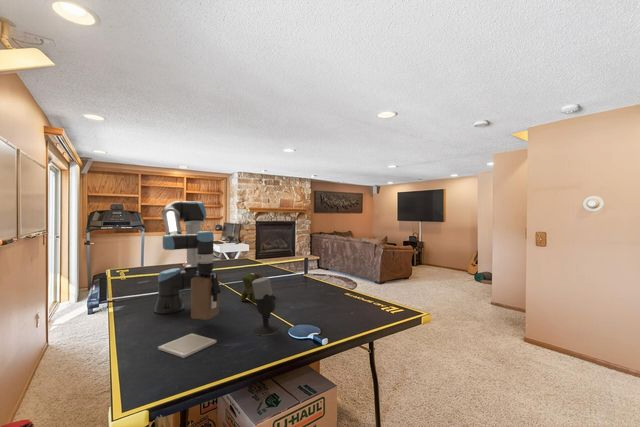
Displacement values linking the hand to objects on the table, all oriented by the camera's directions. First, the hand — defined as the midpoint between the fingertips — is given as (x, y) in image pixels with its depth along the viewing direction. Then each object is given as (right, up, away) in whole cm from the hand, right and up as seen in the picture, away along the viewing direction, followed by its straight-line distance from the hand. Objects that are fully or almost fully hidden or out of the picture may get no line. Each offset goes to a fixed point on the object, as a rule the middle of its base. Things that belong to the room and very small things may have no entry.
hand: (205, 305), depth 148 cm
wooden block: (0, -5, 0) cm, 5 cm away
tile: (+2, -10, -23) cm, 25 cm away
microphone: (+31, -10, -6) cm, 34 cm away
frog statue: (+13, -11, +47) cm, 50 cm away
